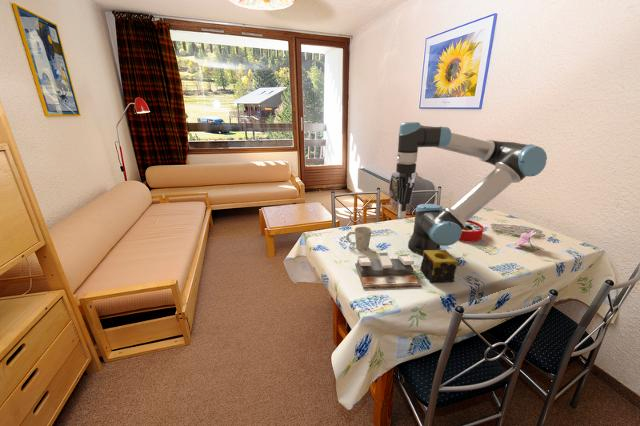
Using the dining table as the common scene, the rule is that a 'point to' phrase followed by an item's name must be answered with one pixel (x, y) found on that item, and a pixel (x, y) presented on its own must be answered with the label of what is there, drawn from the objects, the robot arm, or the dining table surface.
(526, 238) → the lily
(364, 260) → the block
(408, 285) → the switch board
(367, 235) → the mug
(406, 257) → the block
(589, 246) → the dining table surface
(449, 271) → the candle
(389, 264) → the rocker middle
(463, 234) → the toy clock
